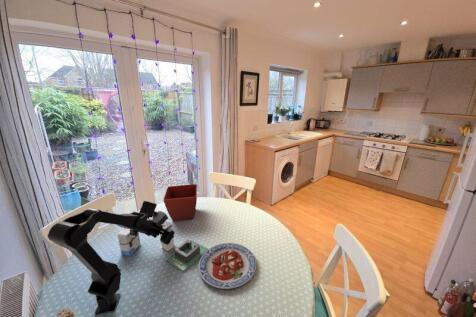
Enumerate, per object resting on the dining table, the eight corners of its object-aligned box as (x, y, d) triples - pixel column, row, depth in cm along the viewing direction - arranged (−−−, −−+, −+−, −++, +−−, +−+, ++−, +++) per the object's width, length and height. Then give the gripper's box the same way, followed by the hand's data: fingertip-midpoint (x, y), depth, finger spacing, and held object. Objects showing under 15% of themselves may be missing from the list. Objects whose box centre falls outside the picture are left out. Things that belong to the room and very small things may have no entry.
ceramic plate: (194, 254, 100) (194, 249, 99) (243, 241, 109) (243, 236, 108) (205, 301, 77) (205, 295, 76) (266, 280, 86) (266, 275, 85)
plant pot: (170, 208, 140) (167, 186, 135) (198, 205, 143) (197, 183, 138) (166, 225, 122) (162, 199, 117) (198, 221, 125) (196, 196, 120)
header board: (183, 272, 89) (182, 264, 88) (165, 260, 96) (164, 252, 94) (208, 250, 102) (207, 242, 101) (191, 241, 108) (190, 234, 107)
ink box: (129, 256, 99) (125, 235, 95) (121, 254, 100) (116, 234, 96) (141, 244, 107) (138, 224, 103) (133, 242, 108) (129, 223, 104)
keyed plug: (167, 251, 101) (164, 229, 98) (161, 247, 104) (158, 225, 100) (175, 245, 106) (173, 223, 102) (170, 241, 108) (167, 220, 104)
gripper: (169, 216, 89) (189, 225, 101) (144, 204, 99) (165, 213, 111) (155, 241, 86) (178, 247, 98) (131, 226, 96) (154, 233, 108)
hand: (169, 234), depth 104 cm, fingers open, 6 cm apart
